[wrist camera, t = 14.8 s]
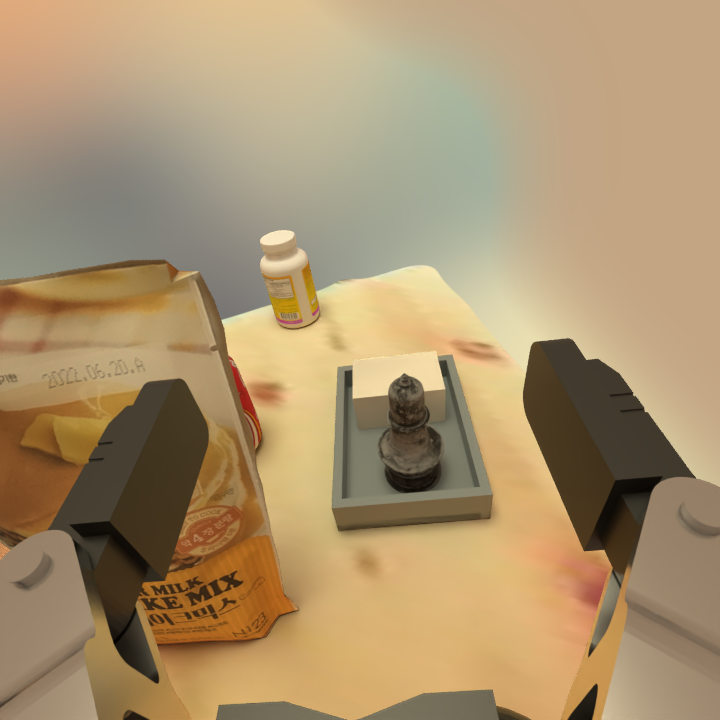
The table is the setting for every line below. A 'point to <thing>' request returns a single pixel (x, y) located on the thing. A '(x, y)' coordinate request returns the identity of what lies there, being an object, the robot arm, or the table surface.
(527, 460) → the table surface
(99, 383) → the pancake mix bag
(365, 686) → the table surface
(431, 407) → the beige rectangular block
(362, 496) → the gray tray
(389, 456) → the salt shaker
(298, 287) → the supplement bottle
